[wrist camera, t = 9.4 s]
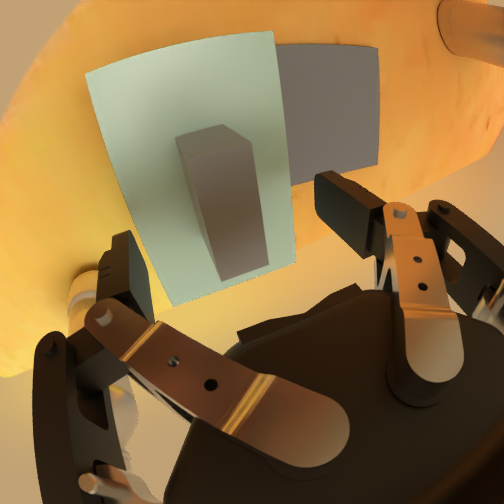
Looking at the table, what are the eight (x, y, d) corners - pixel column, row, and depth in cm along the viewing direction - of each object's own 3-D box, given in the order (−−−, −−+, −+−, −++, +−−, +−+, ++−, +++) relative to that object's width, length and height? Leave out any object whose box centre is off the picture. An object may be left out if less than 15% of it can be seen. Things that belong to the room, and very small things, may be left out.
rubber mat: (371, 47, 22) (377, 47, 22) (372, 161, 31) (377, 164, 30) (247, 48, 20) (251, 47, 19) (265, 187, 28) (269, 191, 28)
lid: (266, 32, 11) (317, 21, 8) (291, 256, 21) (325, 300, 17) (87, 74, 10) (62, 73, 6) (171, 298, 19) (184, 354, 16)
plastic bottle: (123, 259, 27) (146, 463, 12) (128, 307, 31) (157, 481, 16) (65, 262, 25) (47, 463, 10) (77, 310, 28) (81, 483, 13)
